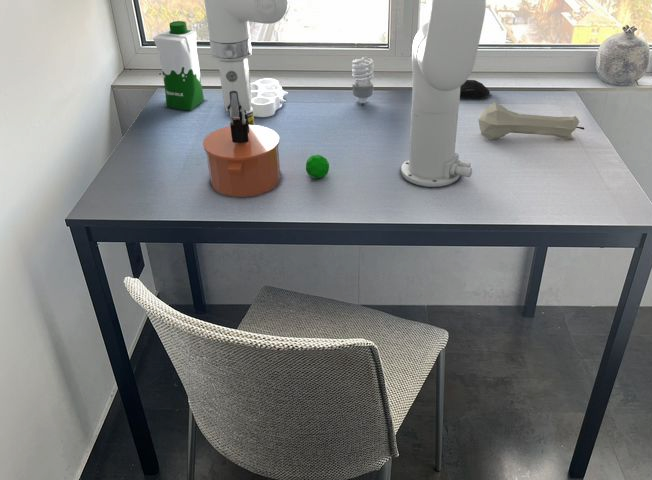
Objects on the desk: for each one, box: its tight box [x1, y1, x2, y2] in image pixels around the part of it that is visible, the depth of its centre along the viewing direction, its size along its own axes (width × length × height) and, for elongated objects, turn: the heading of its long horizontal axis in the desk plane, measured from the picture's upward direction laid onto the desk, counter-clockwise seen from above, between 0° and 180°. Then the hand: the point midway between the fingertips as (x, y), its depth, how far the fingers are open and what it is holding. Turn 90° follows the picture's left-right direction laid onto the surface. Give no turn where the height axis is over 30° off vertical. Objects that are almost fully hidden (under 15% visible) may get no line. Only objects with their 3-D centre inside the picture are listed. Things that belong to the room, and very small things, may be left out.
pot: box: [205, 146, 281, 198], centre depth 142 cm, size 14×20×8 cm
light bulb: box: [351, 56, 375, 104], centre depth 174 cm, size 6×6×12 cm
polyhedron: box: [305, 154, 330, 179], centre depth 144 cm, size 5×5×5 cm
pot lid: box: [202, 120, 280, 160], centre depth 138 cm, size 15×15×6 cm
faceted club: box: [478, 102, 585, 141], centre depth 159 cm, size 9×8×25 cm
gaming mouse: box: [460, 79, 491, 100], centre depth 181 cm, size 6×15×4 cm, turn 81°
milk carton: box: [152, 20, 205, 112], centre depth 171 cm, size 9×9×20 cm
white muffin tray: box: [250, 78, 289, 118], centre depth 177 cm, size 3×18×15 cm
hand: (240, 136), depth 138 cm, fingers open, 3 cm apart
